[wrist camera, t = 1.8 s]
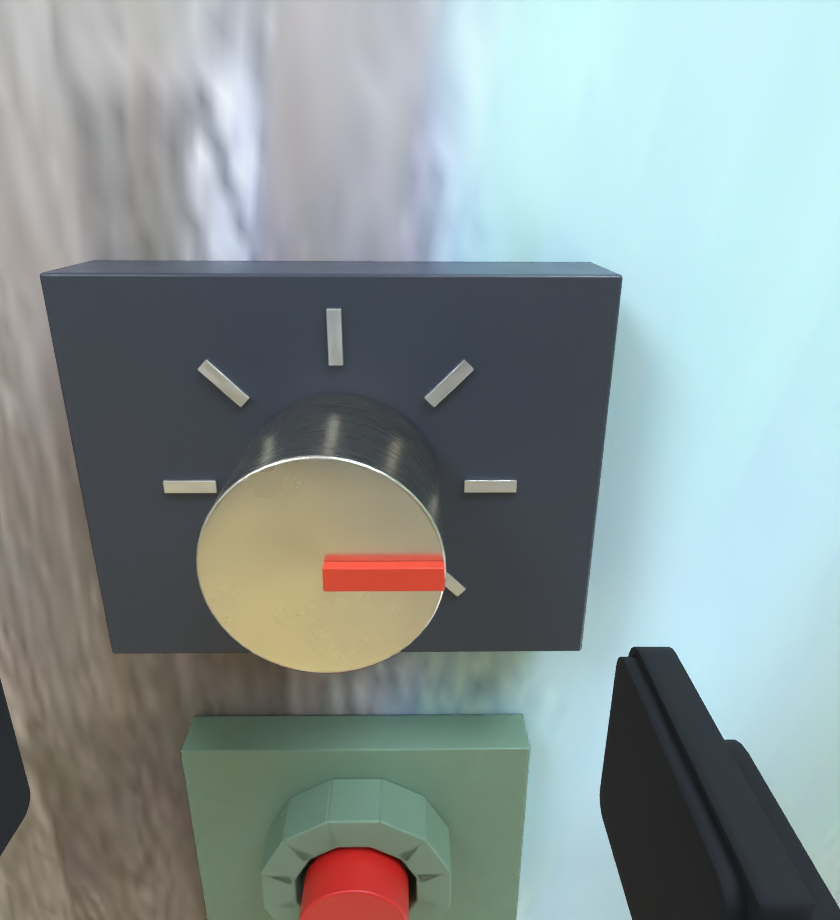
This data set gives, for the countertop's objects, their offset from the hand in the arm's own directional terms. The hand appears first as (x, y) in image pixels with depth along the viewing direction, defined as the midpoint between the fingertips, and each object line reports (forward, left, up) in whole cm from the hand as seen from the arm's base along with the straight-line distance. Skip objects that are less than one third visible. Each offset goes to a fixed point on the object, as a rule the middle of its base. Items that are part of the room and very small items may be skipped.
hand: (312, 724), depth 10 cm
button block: (0, -15, -12) cm, 19 cm away
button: (0, -15, -9) cm, 17 cm away
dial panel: (0, 0, -12) cm, 12 cm away
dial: (0, 0, -9) cm, 9 cm away
